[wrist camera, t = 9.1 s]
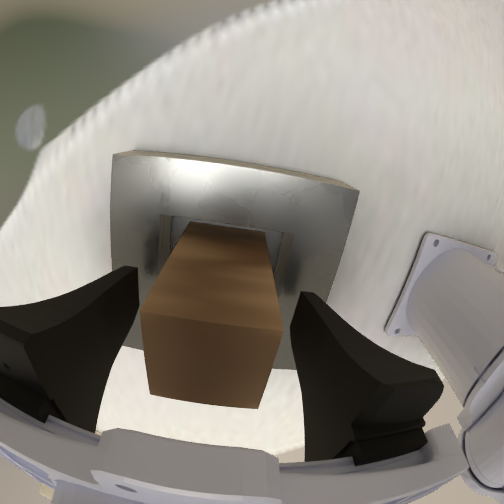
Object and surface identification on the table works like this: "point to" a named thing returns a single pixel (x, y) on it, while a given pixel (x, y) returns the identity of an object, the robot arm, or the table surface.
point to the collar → (229, 221)
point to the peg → (213, 319)
